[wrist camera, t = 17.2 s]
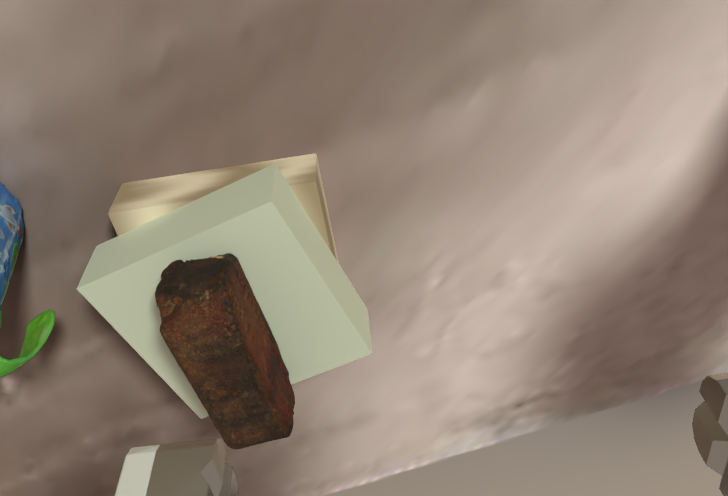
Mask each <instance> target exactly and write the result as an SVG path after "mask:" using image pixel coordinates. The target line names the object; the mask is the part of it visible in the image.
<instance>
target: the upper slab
mask: <svg viewBox="0 0 728 496" xmlns="http://www.w3.org/2000/svg"><path fill="white" fill-rule="evenodd" d="M226 253H231V254H233V255H234V256H236V257H237V258H238V260H239V262H240V265H241V267H242V269H243V271H244V273H245V276H246V278H247V280H248V282H249V284H250V286H251V288H252V291H253V293H254V295H255V298H256V300H257V302H258V303H259V305H260V308H261V310H262V312H263V314H264V317H265V318H266V320H267V322H268V324H269V327H270V329H271V331H272V334H273V336H274V338H275V340H276V342H277V344H278V348H279V350H280V354H281V357H282V359H283V362H284V364H285V365H286V368H287V370H288V372H289V380H290V383H291V385H292V384H294V383H297V382H299V381H302V380H305V379H307V378H310V377H312V376H315V375H318V374H320V373H323V372H326V371H328V370H331V369H333V368H336V367H339V366H341V365H344V364H346V363H349V362H352V361H354V360H357V359H359V358H362V357H365V356H367V355H370V354H372V348H371V337H370V327H369V316H368V309H367V308H366V306H365V305H364V303H363V301H362V300H361V298H360V297H359V295H358V293H357V292H356V290H355V289H354V287H353V286H352V284H351V282H350V281H349V279H348V278H347V276H346V274H345V273H344V271H343V270H342V268H341V267H340V265H339V263H338V262H337V260H336V259H335V257H334V255H333V254H332V252H331V251H330V249H329V248H328V246H327V244H326V243H325V241H324V240H323V238H322V237H321V235H320V233H319V232H318V230H317V229H316V227H315V225H314V224H313V222H312V221H311V219H310V217H309V216H308V214H307V213H306V211H305V210H304V208H303V206H302V205H301V203H300V202H299V200H298V198H297V197H296V195H295V194H294V192H293V191H292V189H291V187H290V186H289V184H288V183H287V181H286V179H285V178H284V176H283V175H282V173H281V171H280V170H279V168H278V167H277V165H276V164H273V165H270V166H268V167H266V168H264V169H262V170H260V171H257V172H255V173H253V174H251V175H249V176H247V177H245V178H242V179H240V180H238V181H236V182H234V183H232V184H229V185H227V186H225V187H223V188H221V189H219V190H216V191H214V192H212V193H210V194H208V195H206V196H203V197H201V198H199V199H197V200H195V201H193V202H190V203H188V204H186V205H184V206H182V207H180V208H178V209H175V210H173V211H171V212H169V213H167V214H165V215H162V216H160V217H158V218H156V219H154V220H152V221H149V222H147V223H145V224H143V225H141V226H139V227H136V228H134V229H132V230H130V231H128V232H126V233H123V234H121V235H119V236H117V237H115V238H113V239H111V240H108V241H106V242H104V243H102V244H100V245H98V246H96V248H95V250H94V252H93V254H92V256H91V259H90V261H89V263H88V265H87V267H86V270H85V272H84V274H83V276H82V278H81V280H80V283H79V285H78V287H77V290H78V291H79V292H80V293H81V294H82V295H83V296H84V297H85V298H86V299H87V300H88V301H89V302H90V303H91V304H92V306H93V307H94V308H95V309H96V310H97V311H98V312H99V313H100V314H101V315H102V316H103V317H104V318H105V319H106V320H107V321H108V322H109V323H110V324H111V325H112V326H113V328H114V329H115V330H116V331H117V332H118V333H119V334H120V335H121V336H122V337H123V338H124V339H125V340H126V341H127V342H128V343H129V344H130V345H131V346H132V347H133V348H134V350H135V351H136V352H137V353H138V354H139V355H140V356H141V357H142V358H143V359H144V360H145V361H146V362H147V363H148V364H149V365H150V366H151V367H152V368H153V369H154V370H155V372H156V373H157V374H158V375H159V376H160V377H161V378H162V379H163V380H164V381H165V382H166V383H167V384H168V385H169V386H170V387H171V388H172V389H173V390H174V391H175V392H176V394H177V395H178V396H179V397H180V398H181V399H182V400H183V401H184V402H185V403H186V404H187V405H188V406H189V407H190V408H191V409H192V410H193V411H194V412H195V413H196V414H197V416H198V417H199V418H200V419H203V418H206V417H208V416H209V415H208V412H207V411H206V409H205V408H204V406H203V405H202V403H201V401H200V400H199V398H198V396H197V394H196V393H195V391H194V389H193V388H192V386H191V384H190V383H189V381H188V380H187V378H186V376H185V374H184V373H183V371H182V370H181V368H180V367H179V365H178V364H177V362H176V360H175V358H174V357H173V355H172V353H171V351H170V350H169V348H168V346H167V345H166V343H165V341H164V339H163V337H162V335H161V333H160V325H161V321H162V320H161V316H160V311H159V307H157V303H156V299H155V291H156V287H157V285H158V284H159V282H160V281H161V273H162V271H163V270H164V269H165V268H167V267H168V265H169V264H170V263H172V262H173V261H176V260H182V261H183V262H185V261H186V260H191V259H193V260H196V259H204V258H209V257H214V256H218V255H224V254H226Z"/></svg>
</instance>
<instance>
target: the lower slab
mask: <svg viewBox="0 0 728 496" xmlns="http://www.w3.org/2000/svg"><path fill="white" fill-rule="evenodd" d="M273 164H276V165H277V167H278V168H279V170H280V171H281V173H282V175H283V176H284V178H285V179H286V181H287V183H288V184H289V186H290V187H291V189H292V191H293V192H294V194H295V195H296V197H297V198H298V200H299V202H300V203H301V205H302V206H303V208H304V210H305V211H306V213H307V214H308V216H309V217H310V219H311V221H312V222H313V224H314V225H315V227H316V229H317V230H318V232H319V233H320V235H321V237H322V238H323V240H324V241H325V243H326V244H327V246H328V248H329V249H330V251H331V252H332V254H333V255H334V257H335V259H336V260H337V262H338V257H337V252H336V247H335V242H334V237H333V233H332V228H331V223H330V218H329V213H328V208H327V203H326V199H325V194H324V189H323V184H322V179H321V174H320V169H319V165H318V160H317V155H316V153H315V154H309V155H302V156H296V157H289V158H283V159H277V160H270V161H264V162H257V163H251V164H244V165H238V166H232V167H225V168H219V169H212V170H206V171H199V172H193V173H187V174H180V175H174V176H167V177H161V178H154V179H148V180H141V181H135V182H129V183H122V185H121V187H120V189H119V191H118V193H117V195H116V197H115V199H114V202H113V204H112V206H111V208H110V210H109V212H108V215H109V217H110V219H111V222H112V224H113V226H114V228H115V231H116V233H117V235H118V236H119V235H121V234H123V233H126V232H128V231H130V230H132V229H134V228H136V227H139V226H141V225H143V224H145V223H147V222H149V221H152V220H154V219H156V218H158V217H160V216H162V215H165V214H167V213H169V212H171V211H173V210H175V209H178V208H180V207H182V206H184V205H186V204H188V203H190V202H193V201H195V200H197V199H199V198H201V197H203V196H206V195H208V194H210V193H212V192H214V191H216V190H219V189H221V188H223V187H225V186H227V185H229V184H232V183H234V182H236V181H238V180H240V179H242V178H245V177H247V176H249V175H251V174H253V173H255V172H257V171H260V170H262V169H264V168H266V167H268V166H270V165H273ZM338 263H339V262H338Z"/></svg>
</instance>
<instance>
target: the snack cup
mask: <svg viewBox="0 0 728 496" xmlns="http://www.w3.org/2000/svg"><path fill="white" fill-rule="evenodd" d="M23 233H24V223H23V219H22V207H21V205H20V203H19V201H18V199H17V198H15V197H13V196H12V194H11V193H10V192H9V191H8V190H7V189H6V188H5V186H4V185H3V184H1V183H0V328H1V321H2V313H1V306H2V304H3V302H4V299H5V296H6V293H7V290H8V286H9V282H10V279H11V277H12V274H13V270H14V267H15V264H16V261H17V257H18V252H19V250H20V247H21V244H22V240H23ZM54 324H55V312H54V311H52V310H51V309H49V310H47V311H44V312H42V313H41V314H40V315H38V316H37V317H35V318H34V319H33V320H32V321H31V322H30V323H29V324H28V326H27V327H26V335H25V338H24V342H23V345H22V349H21V352H20V356H19V358H14V359H10V360H8V359H5V358H3V357H1V356H0V377H3V376H5V375H7V374H9V373H11V372H13V371H15V370H16V369H17V368H19V367H20V366H21V365H23V364H25V363H26V362H28V361H29V360H30V359H31V358H32V357H33V356H35V355H36V353H37V352H38V351H39V350H40V349H41V347H42V346H43V345H44V343H45V342H46V340H47V339H48V337H49V335H50V333H51V331H52V329H53V326H54Z"/></svg>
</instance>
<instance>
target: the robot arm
mask: <svg viewBox="0 0 728 496" xmlns="http://www.w3.org/2000/svg"><path fill="white" fill-rule="evenodd" d="M700 393H701V395H702V396H703V398H704V400H705V401H704V402H703V403H702V404H701V405H700V406H699V407H698V408H696V409H695V412H694V417H693V423H692V425H693V432H694V439H695V442H696V445H697V448H698V450H699V453H700V455H701V456H702V458H703V460H704V462H705V464H706V465H707V466H708V467H710V468H711V469H713V470H715V471H716V472H718V473H719V474H721V475H722V479H721V483H720V488H719V489H720V490H721V492H722V494H723V495H724V496H728V373H724V374H717V375H710V376H707V377H706V378H705V379H704V380H703V381H702V384H701V388H700ZM226 452H227V451H226V448H225V446H224V444H223V441H222V439H209V440H199V441H189V442H179V443H169V444H161V445H152V446H143V447H134V448H131V449H130V451H129V452H128V454H127V455H126V457H125V460H124V463H123V467H122V470H121V474H120V478H119V481H118V485H117V488H116V492H115V495H114V496H239V490H238V484H237V479H236V475H235V472H234V469H233V467H231V466H229V465H228V464H226V463H225V461H226Z"/></svg>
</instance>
